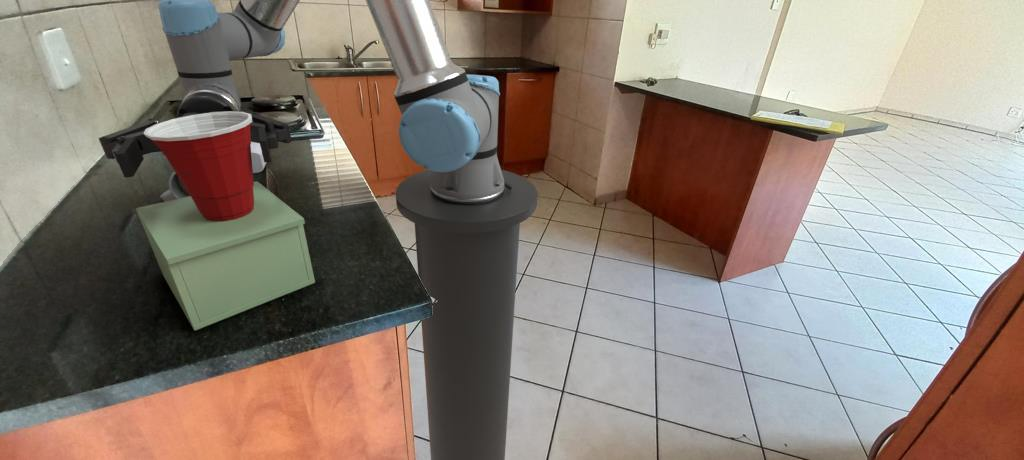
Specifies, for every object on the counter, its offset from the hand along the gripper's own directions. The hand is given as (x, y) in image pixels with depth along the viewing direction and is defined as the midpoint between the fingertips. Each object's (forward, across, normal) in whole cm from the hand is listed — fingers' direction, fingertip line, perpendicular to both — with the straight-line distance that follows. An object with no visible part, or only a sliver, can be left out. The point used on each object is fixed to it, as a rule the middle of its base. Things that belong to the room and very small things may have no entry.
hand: (199, 158), depth 49 cm
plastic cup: (-2, -1, -8) cm, 9 cm away
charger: (-55, -1, -19) cm, 58 cm away
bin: (-3, 0, -19) cm, 19 cm away
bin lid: (-2, 0, -9) cm, 9 cm away
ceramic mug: (-36, +7, -19) cm, 41 cm away
